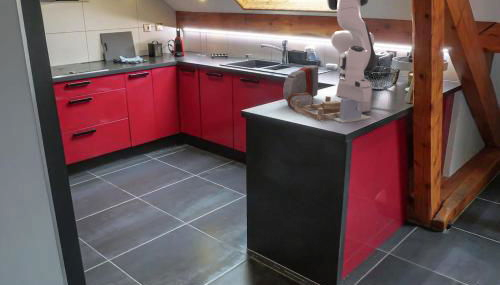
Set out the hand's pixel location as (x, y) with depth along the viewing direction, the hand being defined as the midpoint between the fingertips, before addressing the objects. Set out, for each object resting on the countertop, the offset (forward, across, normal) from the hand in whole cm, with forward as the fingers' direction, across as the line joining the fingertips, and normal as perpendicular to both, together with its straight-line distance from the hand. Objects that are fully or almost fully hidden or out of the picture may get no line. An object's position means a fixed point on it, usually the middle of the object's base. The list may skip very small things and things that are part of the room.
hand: (351, 108), depth 211 cm
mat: (+6, 0, +1) cm, 6 cm away
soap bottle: (+6, -12, +17) cm, 22 cm away
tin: (+6, -30, -9) cm, 32 cm away
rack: (+6, -15, -4) cm, 17 cm away
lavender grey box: (+5, 0, 0) cm, 5 cm away
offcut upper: (+3, -15, 0) cm, 15 cm away
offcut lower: (+6, -15, 0) cm, 16 cm away
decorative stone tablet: (+6, -42, 0) cm, 42 cm away
